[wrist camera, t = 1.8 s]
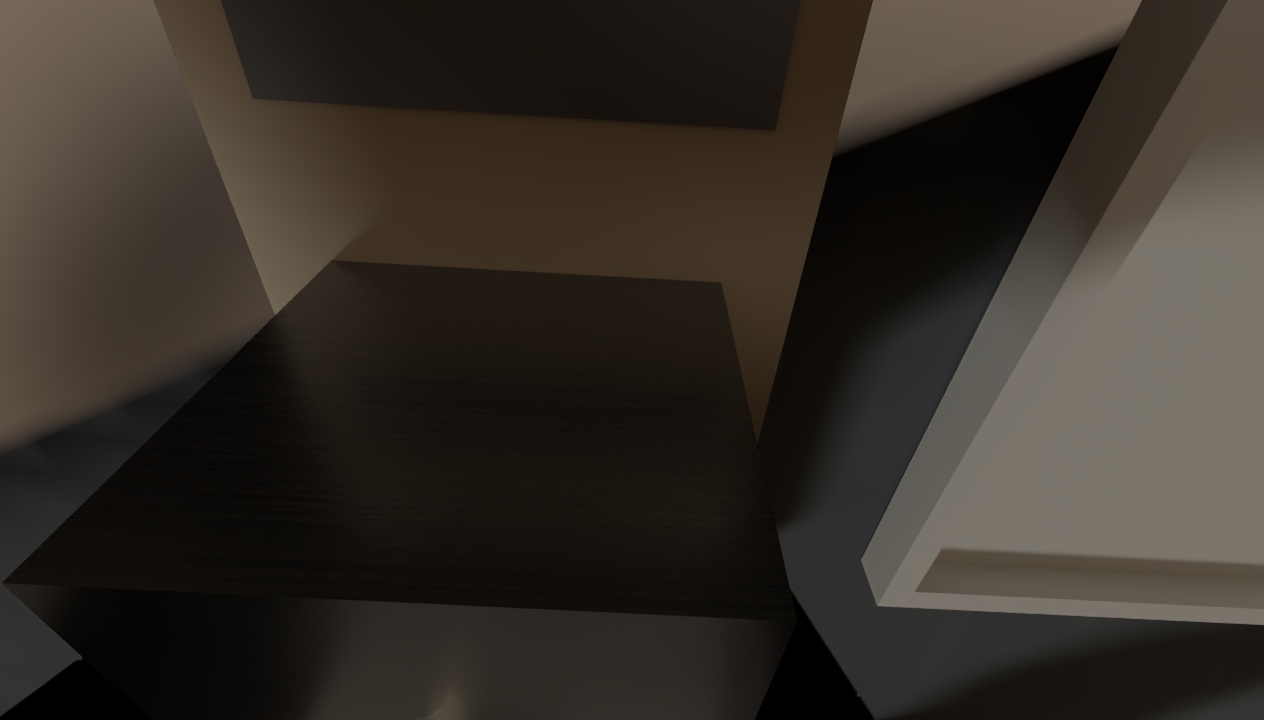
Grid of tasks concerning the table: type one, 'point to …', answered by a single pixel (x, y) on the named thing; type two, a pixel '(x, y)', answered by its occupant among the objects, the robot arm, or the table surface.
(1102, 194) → the parts tray
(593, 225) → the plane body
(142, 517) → the dark grey block
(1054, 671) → the table surface
